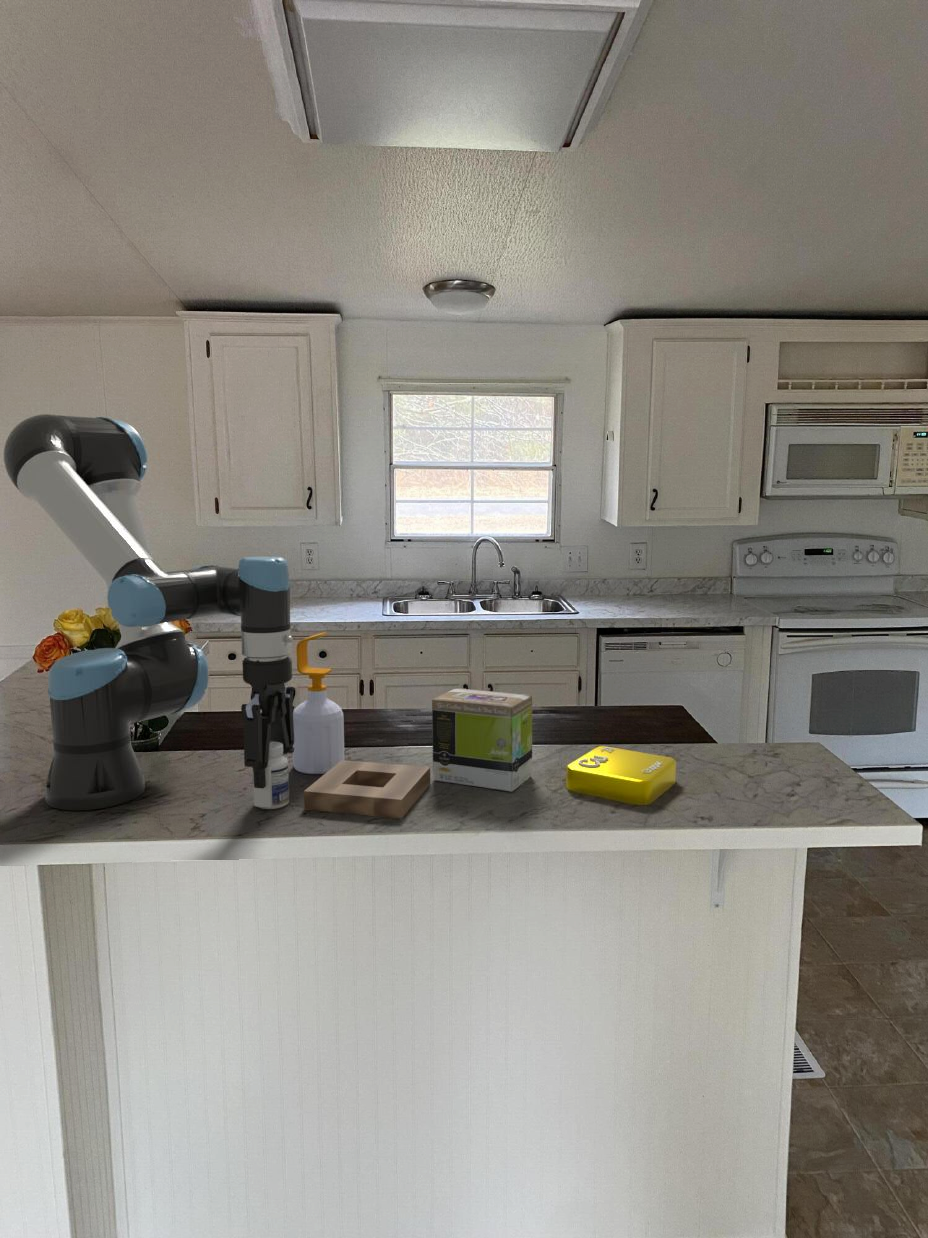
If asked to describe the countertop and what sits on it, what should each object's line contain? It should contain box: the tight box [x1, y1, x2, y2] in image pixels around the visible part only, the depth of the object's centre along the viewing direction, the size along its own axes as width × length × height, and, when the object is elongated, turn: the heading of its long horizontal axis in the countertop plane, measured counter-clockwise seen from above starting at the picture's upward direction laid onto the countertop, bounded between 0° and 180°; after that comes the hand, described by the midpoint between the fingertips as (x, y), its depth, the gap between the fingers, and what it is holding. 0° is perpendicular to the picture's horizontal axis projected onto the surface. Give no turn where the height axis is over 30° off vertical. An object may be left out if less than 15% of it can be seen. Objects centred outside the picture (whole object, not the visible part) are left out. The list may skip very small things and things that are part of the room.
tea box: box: [431, 687, 533, 793], centre depth 152 cm, size 15×10×15 cm, turn 65°
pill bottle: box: [256, 741, 290, 810], centre depth 140 cm, size 5×5×10 cm
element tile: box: [565, 745, 677, 806], centre depth 149 cm, size 15×15×5 cm
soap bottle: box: [292, 631, 345, 775], centre depth 157 cm, size 9×9×25 cm
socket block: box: [303, 759, 431, 819], centre depth 144 cm, size 16×16×3 cm
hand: (272, 799), depth 140 cm, fingers closed on pill bottle, 5 cm apart
